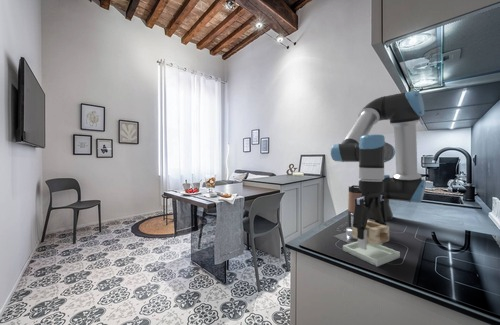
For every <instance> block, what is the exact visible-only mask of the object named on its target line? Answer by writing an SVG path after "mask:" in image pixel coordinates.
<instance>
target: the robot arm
mask: <svg viewBox="0 0 500 325" xmlns="http://www.w3.org/2000/svg"><path fill="white" fill-rule="evenodd" d="M423 99H424V98H423V96H422V93H421V92H420V91H418V90H413V91H404V92H401V93H400V92H399V93H396V94H390V95H384V96H383V95H382V96H381V97H378V98H375V99H373V100H372V101H370V102H369V103H367V104H366V105H365V106H364V107H363V108H362V109H361V110H360V112H359V113H358V118H357V120H356V121H355V123H354V124H353V126H352V128H350V130H349V132H347V135H346V136H345V138H344V139H343V140H342V141H341V143H337V144H333V145H332V146H331V148H330V157H331V159H332V160H333V161H334V162H340V163H341V162H342V163H349V162H350V163H351V162H352V163H353V162H355V163H357V162H358V167H359V168H358V178H359V179H360V180H358V186H359V190H360V191H361V192H362V195H361V198H355V211H354V219H353V227H355V228H357V229H358V234H357V237H358V247H359V248H362V249H364V250H366V249H367V230H365V227H366V224H367V220H369V219H371V218H372V220H374V222H376V223H379V224H383V225H386V226H387V222H388V221H391V220H392V219H393V218H394V214H393V212H392V208H391V206H390V200H392V201H399V202H408V203H415V204H417V203H421V202H422V201H423V200H424V195H425V192H426V186H427V180H425V179H424V178H422V174H420V173H419V172H418V152H417V151H418V150H417V149H418V147H417V145H418V144H417V143H418V142H417V124H418V123H419V122H420V121H421V117H422V116H424V115H425V102H424V100H423ZM387 120H388V121H389V123H390V125H392V126H393V133H394V135H393V137H394V146H393V145H392V144H390V143H389V142H386V141H385V136H384V135H383V134H370V132H371V130H372V128H373V127H374V126H375V125H376V124H377V123H378V122H380V121H387ZM394 157H395V158H394ZM392 159H394V160H395V173H394V174H393V175H392V177H391V176H390V174H385V163H387V162H389V161H391V160H392ZM364 206H365V207H364ZM379 245H382V246H383V243H381V244H379Z"/></svg>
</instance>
